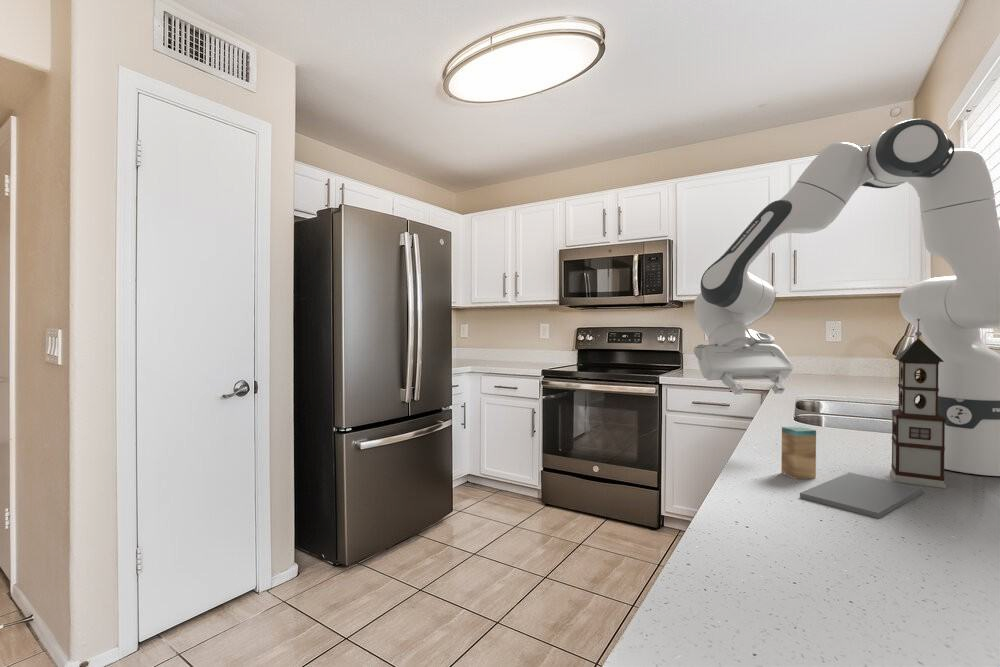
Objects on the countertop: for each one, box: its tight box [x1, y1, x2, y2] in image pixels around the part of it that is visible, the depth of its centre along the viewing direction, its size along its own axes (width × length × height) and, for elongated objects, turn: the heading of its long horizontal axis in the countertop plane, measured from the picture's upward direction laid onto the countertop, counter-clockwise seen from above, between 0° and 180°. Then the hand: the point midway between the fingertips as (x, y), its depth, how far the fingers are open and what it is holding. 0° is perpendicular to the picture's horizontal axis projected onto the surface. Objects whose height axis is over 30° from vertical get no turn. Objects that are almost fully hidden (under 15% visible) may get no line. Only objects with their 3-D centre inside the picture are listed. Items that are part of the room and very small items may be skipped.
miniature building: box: [889, 319, 947, 489], centre depth 93 cm, size 7×7×30 cm
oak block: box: [780, 425, 817, 480], centre depth 96 cm, size 4×4×9 cm
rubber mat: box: [799, 472, 924, 519], centre depth 85 cm, size 20×11×1 cm, turn 125°
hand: (760, 392), depth 107 cm, fingers open, 8 cm apart
